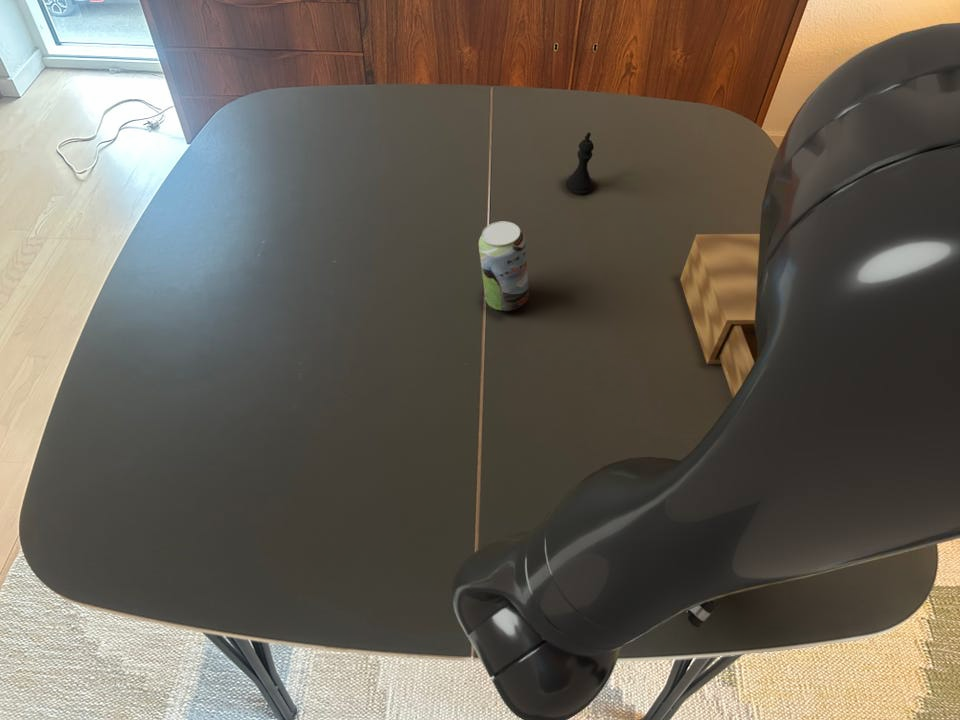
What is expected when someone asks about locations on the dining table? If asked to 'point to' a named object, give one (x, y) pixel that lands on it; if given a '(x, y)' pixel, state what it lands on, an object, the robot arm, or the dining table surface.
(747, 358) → the drawer
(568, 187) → the chess piece
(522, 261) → the beverage can
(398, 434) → the dining table surface
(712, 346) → the cabinet
